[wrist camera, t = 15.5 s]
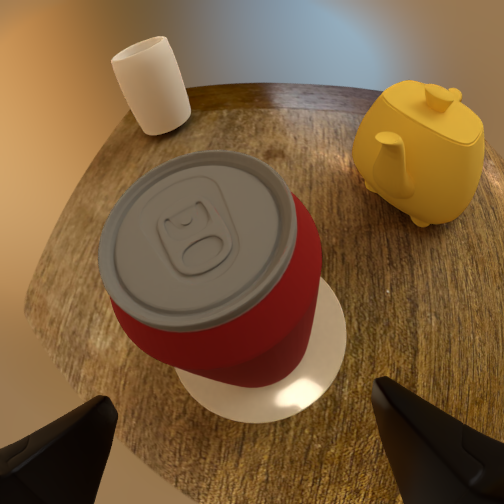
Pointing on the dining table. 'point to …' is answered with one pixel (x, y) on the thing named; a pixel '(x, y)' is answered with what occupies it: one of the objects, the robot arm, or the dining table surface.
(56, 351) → the dining table surface
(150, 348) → the beverage can
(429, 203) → the teapot
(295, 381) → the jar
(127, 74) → the cup
